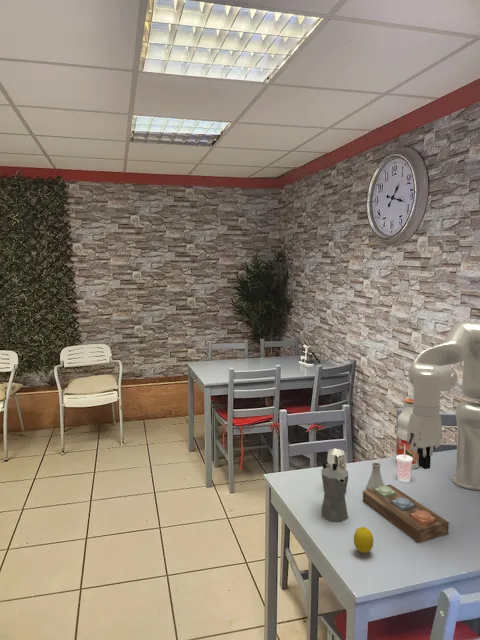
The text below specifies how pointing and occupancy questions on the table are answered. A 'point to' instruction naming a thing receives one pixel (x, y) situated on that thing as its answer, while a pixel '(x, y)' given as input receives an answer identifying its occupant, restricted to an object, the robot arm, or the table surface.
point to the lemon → (363, 540)
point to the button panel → (406, 516)
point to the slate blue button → (402, 504)
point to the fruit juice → (402, 433)
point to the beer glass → (337, 458)
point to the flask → (375, 477)
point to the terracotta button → (423, 517)
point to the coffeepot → (334, 493)
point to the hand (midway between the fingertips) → (424, 467)
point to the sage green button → (385, 491)
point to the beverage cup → (404, 467)
